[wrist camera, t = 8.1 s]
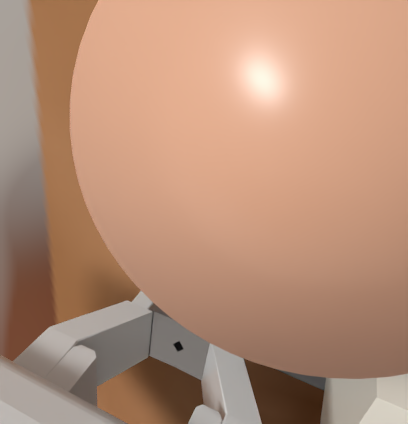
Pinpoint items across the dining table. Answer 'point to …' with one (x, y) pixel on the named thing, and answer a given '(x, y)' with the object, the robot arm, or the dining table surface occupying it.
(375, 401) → the slider knob
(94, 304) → the dining table surface
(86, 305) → the dining table surface
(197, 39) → the terracotta button
